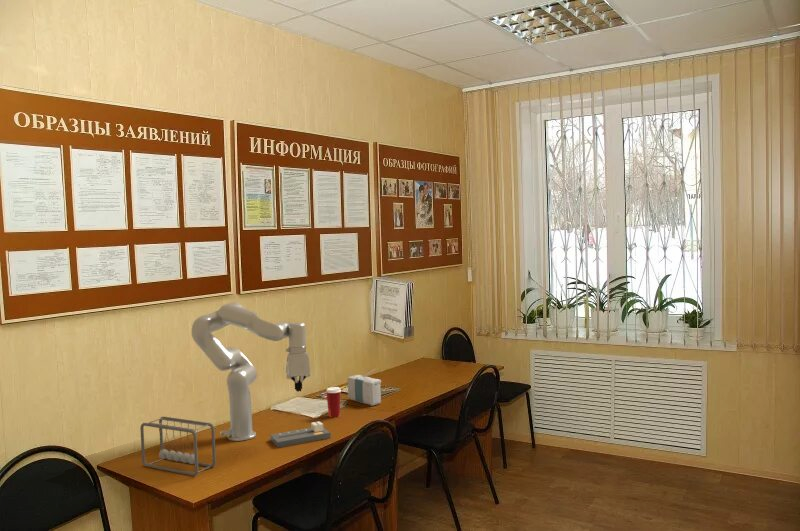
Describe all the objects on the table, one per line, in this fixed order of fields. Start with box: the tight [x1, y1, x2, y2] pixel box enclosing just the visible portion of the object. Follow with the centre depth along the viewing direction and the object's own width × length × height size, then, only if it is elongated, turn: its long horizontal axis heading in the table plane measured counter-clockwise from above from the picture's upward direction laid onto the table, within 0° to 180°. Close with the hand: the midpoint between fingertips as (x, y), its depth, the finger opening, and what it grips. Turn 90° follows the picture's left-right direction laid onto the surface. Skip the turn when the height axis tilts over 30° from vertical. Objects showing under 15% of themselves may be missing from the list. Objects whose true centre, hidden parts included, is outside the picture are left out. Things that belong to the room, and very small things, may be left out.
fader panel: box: [269, 427, 331, 449], centre depth 273 cm, size 24×12×3 cm, turn 117°
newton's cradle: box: [139, 416, 217, 477], centre depth 244 cm, size 30×10×18 cm, turn 63°
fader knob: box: [310, 421, 324, 432], centre depth 277 cm, size 4×5×3 cm
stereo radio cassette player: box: [347, 366, 382, 407], centre depth 333 cm, size 21×8×20 cm, turn 42°
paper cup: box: [325, 386, 342, 418], centre depth 308 cm, size 8×8×14 cm
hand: (298, 390), depth 275 cm, fingers closed
